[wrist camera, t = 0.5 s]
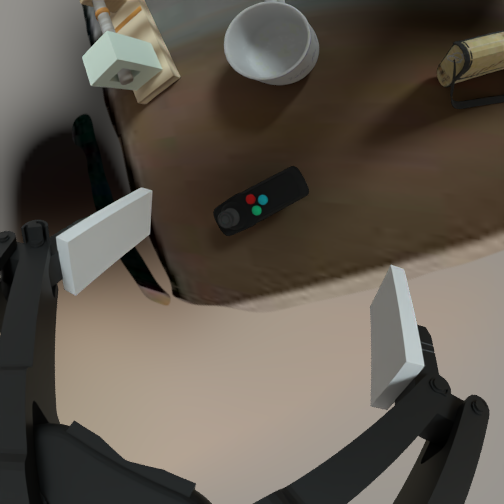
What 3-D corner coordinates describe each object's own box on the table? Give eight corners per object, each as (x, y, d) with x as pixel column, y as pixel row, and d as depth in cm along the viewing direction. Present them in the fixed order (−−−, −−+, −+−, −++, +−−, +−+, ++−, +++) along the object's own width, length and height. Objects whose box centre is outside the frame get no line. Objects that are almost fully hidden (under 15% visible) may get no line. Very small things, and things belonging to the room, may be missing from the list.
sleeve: (162, 69, 41) (117, 59, 32) (136, 90, 44) (91, 85, 35) (151, 43, 40) (106, 30, 32) (126, 64, 43) (82, 57, 34)
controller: (234, 200, 46) (199, 214, 38) (307, 160, 40) (286, 163, 32) (248, 226, 47) (216, 245, 38) (322, 188, 41) (306, 199, 32)
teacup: (312, 99, 38) (297, 88, 31) (239, 82, 40) (212, 72, 33) (336, 11, 32) (325, -15, 25) (262, 1, 35) (240, -22, 28)
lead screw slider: (180, 77, 43) (136, 67, 34) (145, 104, 47) (100, 101, 38) (139, -11, 40) (100, -27, 31) (110, 15, 44) (71, 4, 34)
